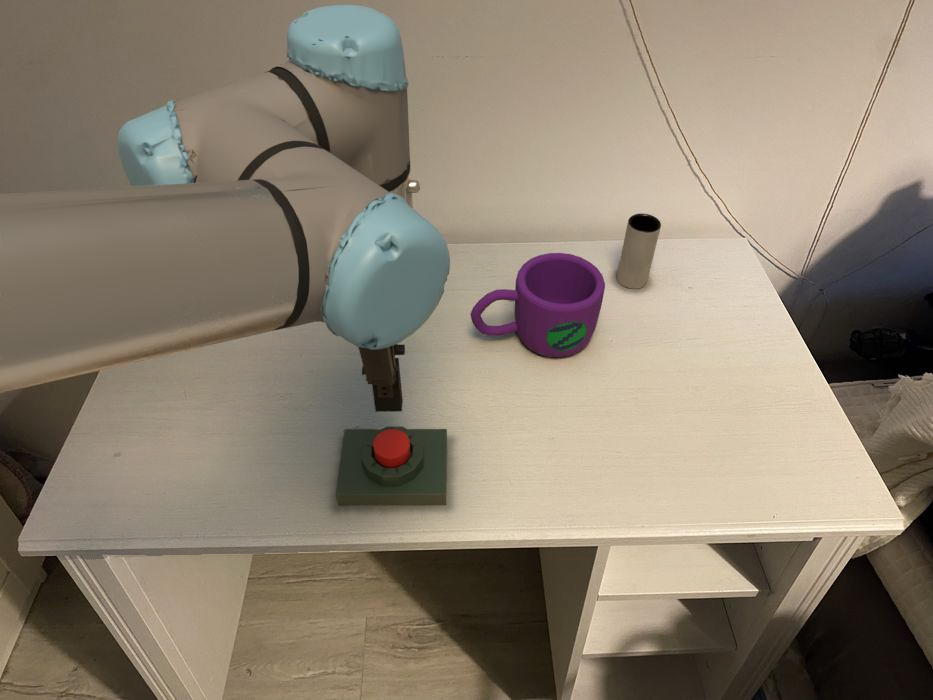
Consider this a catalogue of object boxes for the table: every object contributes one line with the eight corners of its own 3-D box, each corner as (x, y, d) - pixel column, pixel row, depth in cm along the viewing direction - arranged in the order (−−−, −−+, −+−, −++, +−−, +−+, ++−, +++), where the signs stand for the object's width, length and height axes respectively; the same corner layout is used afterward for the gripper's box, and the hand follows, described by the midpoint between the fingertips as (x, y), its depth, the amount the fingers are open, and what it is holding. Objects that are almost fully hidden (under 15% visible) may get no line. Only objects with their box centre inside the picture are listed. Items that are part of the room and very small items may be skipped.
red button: (373, 467, 78) (371, 458, 77) (376, 438, 81) (374, 429, 79) (409, 467, 78) (408, 458, 77) (411, 438, 81) (410, 428, 79)
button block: (337, 505, 79) (333, 485, 76) (346, 440, 85) (342, 419, 82) (446, 505, 79) (445, 484, 76) (447, 440, 85) (446, 419, 82)
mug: (581, 302, 103) (590, 246, 95) (606, 358, 95) (618, 302, 88) (462, 316, 100) (463, 260, 93) (478, 375, 92) (479, 319, 85)
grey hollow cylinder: (613, 270, 108) (624, 214, 100) (642, 268, 108) (655, 212, 101) (621, 290, 105) (633, 233, 97) (650, 288, 105) (665, 231, 98)
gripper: (410, 269, 52) (423, 457, 69) (417, 172, 61) (427, 360, 78) (308, 270, 52) (346, 458, 69) (330, 173, 61) (359, 360, 78)
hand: (389, 405), depth 74 cm, fingers closed
